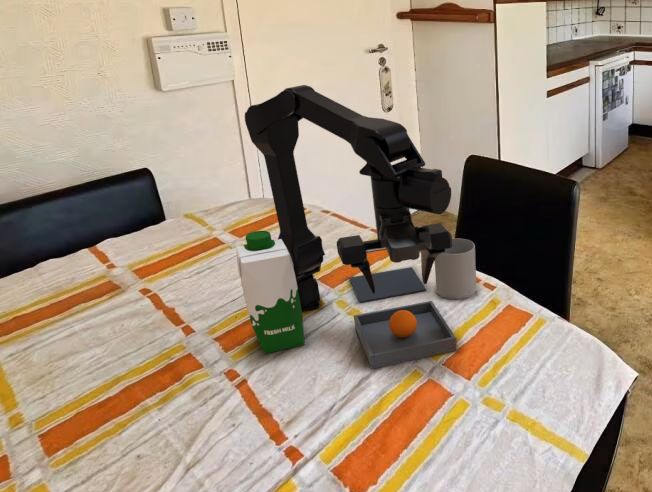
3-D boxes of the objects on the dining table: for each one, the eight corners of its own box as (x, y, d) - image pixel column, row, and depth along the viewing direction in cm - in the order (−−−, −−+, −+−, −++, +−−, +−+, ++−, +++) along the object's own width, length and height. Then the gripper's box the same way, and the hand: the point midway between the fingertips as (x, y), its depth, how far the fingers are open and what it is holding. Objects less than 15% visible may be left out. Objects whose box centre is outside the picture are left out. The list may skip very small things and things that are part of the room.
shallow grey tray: (371, 369, 106) (370, 356, 104) (355, 327, 118) (353, 315, 117) (456, 350, 111) (456, 337, 110) (432, 312, 123) (431, 300, 122)
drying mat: (359, 303, 127) (359, 301, 126) (349, 279, 136) (349, 277, 136) (426, 290, 131) (426, 289, 131) (411, 268, 141) (411, 267, 141)
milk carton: (300, 324, 119) (282, 226, 110) (310, 346, 112) (291, 243, 103) (252, 335, 116) (228, 234, 106) (259, 359, 108) (235, 253, 99)
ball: (393, 345, 111) (391, 321, 109) (387, 331, 115) (385, 308, 113) (421, 339, 113) (419, 315, 111) (413, 326, 117) (411, 303, 115)
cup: (470, 300, 127) (468, 256, 123) (431, 297, 129) (428, 252, 124) (480, 282, 135) (478, 239, 130) (443, 279, 136) (440, 237, 131)
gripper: (342, 228, 92) (354, 319, 100) (461, 211, 99) (464, 297, 106) (330, 205, 102) (342, 290, 109) (440, 190, 108) (444, 272, 115)
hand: (399, 287), depth 110 cm, fingers open, 9 cm apart
